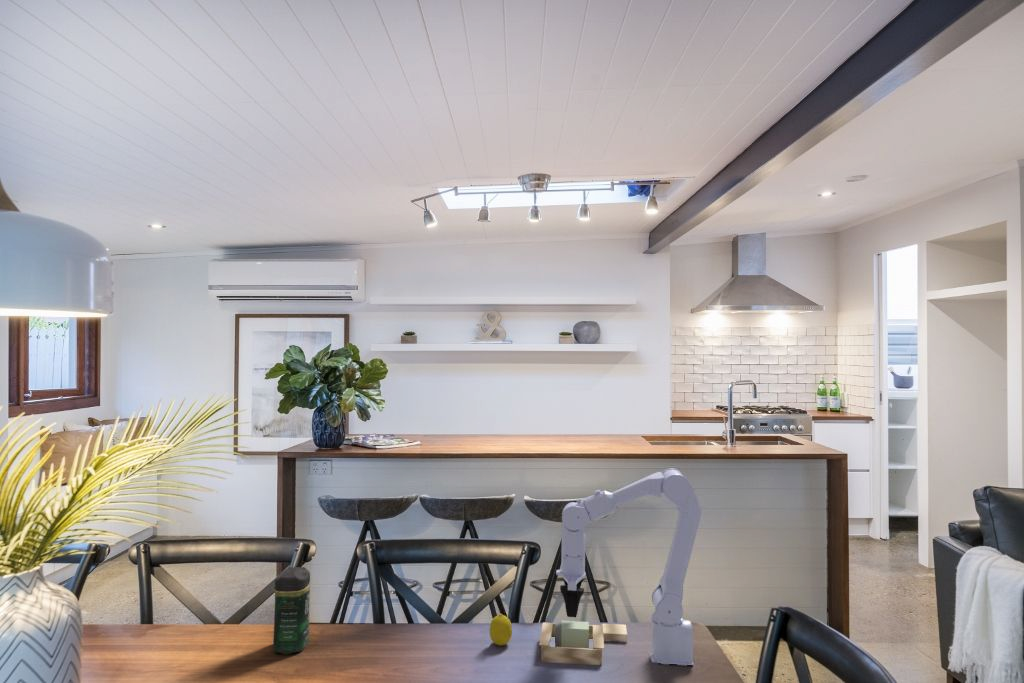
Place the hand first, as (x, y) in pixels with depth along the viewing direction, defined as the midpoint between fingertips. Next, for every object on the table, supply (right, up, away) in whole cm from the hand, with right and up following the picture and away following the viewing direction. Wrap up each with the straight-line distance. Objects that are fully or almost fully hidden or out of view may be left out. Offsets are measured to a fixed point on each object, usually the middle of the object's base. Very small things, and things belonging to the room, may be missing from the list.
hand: (572, 610), depth 159 cm
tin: (0, -10, 0) cm, 10 cm away
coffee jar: (-69, -10, +3) cm, 69 cm away
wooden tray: (0, -10, 0) cm, 10 cm away
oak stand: (+11, -10, +8) cm, 17 cm away
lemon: (-17, -10, +3) cm, 20 cm away
